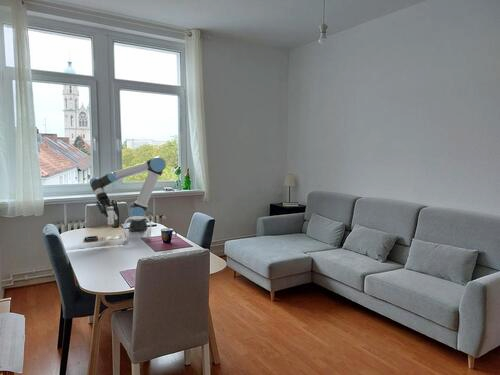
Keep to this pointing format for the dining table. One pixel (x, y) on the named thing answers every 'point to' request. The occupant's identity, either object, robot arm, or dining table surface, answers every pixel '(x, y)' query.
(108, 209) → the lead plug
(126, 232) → the headset
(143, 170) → the robot arm
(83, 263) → the dining table surface
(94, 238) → the cable board
